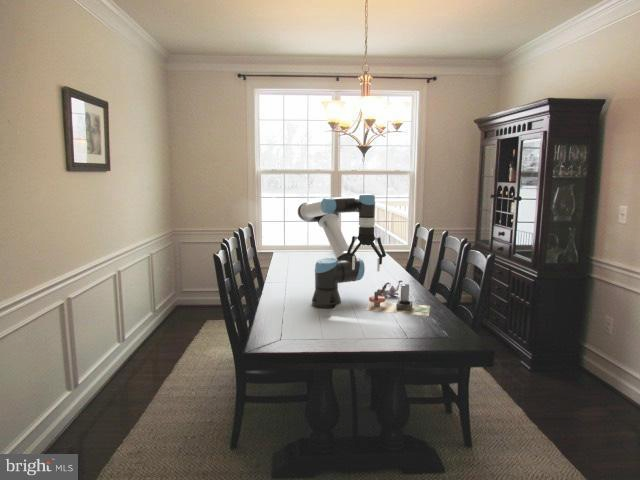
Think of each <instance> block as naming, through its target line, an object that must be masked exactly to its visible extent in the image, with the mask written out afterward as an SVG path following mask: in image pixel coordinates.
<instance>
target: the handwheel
mask: <svg viewBox="0 0 640 480" xmlns="http://www.w3.org/2000/svg"><path fill="white" fill-rule="evenodd" d="M373 294H374V295H371V296H369V297H368V301H369V303H370V302H374V307H380V303H382V302H386V297H384V296H383V295H382V296H378V292H377V290H375V291H374V293H373Z"/></svg>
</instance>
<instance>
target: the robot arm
mask: <svg viewBox="0 0 640 480" xmlns="http://www.w3.org/2000/svg"><path fill="white" fill-rule="evenodd" d="M375 196H376V195H375V194H373V193H360V194H359V196H356V195H355V196H353V195H352V196H348V197H347V196H345V197H344V196H342V197H324V198H323V199H321V200H318V201H306V202H303V203H301V204H300V205H299V207H298V208H297V215H298V217H299V219H300V220H302V221H304V222H306V223H307V222H308V223H317V224H318V226H319V227H320V228H322V229H323V231H324V234H325V236H326V238H327V241H328V243H329V245H330V247H331V250H332V252H333V254H334V256H335V257H326V258H322V259H319V260H317V261H316V262H315V264H314V265H315V266H314V278H315V279H314V285H315V286H314V287H315V289H314V292H313V295H312V299H311V305H312V306H313V307H315V308H319V309H333V308H335V307H336V306H337V305H339V304H341V303H342V298H341V295H340V292H339V287H338V286H339V285H338V284H342V283H351V282H357V281H361V280H362V279H363V277H364V276H365V271H366V270H365V268H366V267H365V262H364V260H363V259H362V258H360V257H358V258H357V255H356V252H357V251H358V250H359V248H360V247H361V246H370V247H371V248H372V249H373V251H374V252H375V253H376V255H377V256H378V257H377V265H376V269H377V270H376V271H377V272H378V273H379V272H380V269H381V268H380V267H381V265H382V264H383V258H386V256H387V254H386V251H385V248H384V246H383V242H382V238H381V236H379V237H378V236H375V221H376V219H375V214H376V213H375V212H376V201H375V200H376V197H375ZM341 213H344V214H345V213H358V225H359V226H358V236H357V235H353V236H351V241H350V245H349V246H348V243H347V240H346V238H345V236H344V234H343V231H342V230H341V228H340V225H339V223H338V220H339V217H340V214H341ZM357 240H358V242H359V243H358V244H357V245H356V247H355V248H354V249H353V247H354V244H355V242H356V241H357ZM374 241H376V242H377V244H378V246H379V247H377V245H376V244H375V242H374ZM378 248H379V249H378ZM352 249H353V250H352Z"/></svg>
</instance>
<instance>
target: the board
mask: <svg viewBox="0 0 640 480" xmlns="http://www.w3.org/2000/svg"><path fill="white" fill-rule="evenodd" d="M400 301H401V299H398V300H397V302H389V301H385V302H382V303H380V307H374V302H370V301H369V303H368V305H367V307H366V308H365V311H368V312H377V313H378V312H380V313H388V314H389V313H391V314H403V315H411V316H426V317H429V315H430V311H431V305H425V304H415V303H414V304H413V300H409V305H408V304H400Z"/></svg>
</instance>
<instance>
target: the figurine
mask: <svg viewBox="0 0 640 480" xmlns="http://www.w3.org/2000/svg"><path fill="white" fill-rule="evenodd" d="M400 283H403V280H399V281H398V284H397V286H396V288H395V287H394V285H391V283H390V282H386V283H384V284H382V286H381V289H380V288H378V289H377V290H376V291H377V292H378V296H382V297H385V298H388V297H390V298H391V297H392V298H393V297H394V298H395V297H396V298H397V296H399V294H400V293H398V291H399V289H400V285H401V284H400ZM387 285H389V286H388V288H389V287H390V288H389V290H388V289H386V288H387Z"/></svg>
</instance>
